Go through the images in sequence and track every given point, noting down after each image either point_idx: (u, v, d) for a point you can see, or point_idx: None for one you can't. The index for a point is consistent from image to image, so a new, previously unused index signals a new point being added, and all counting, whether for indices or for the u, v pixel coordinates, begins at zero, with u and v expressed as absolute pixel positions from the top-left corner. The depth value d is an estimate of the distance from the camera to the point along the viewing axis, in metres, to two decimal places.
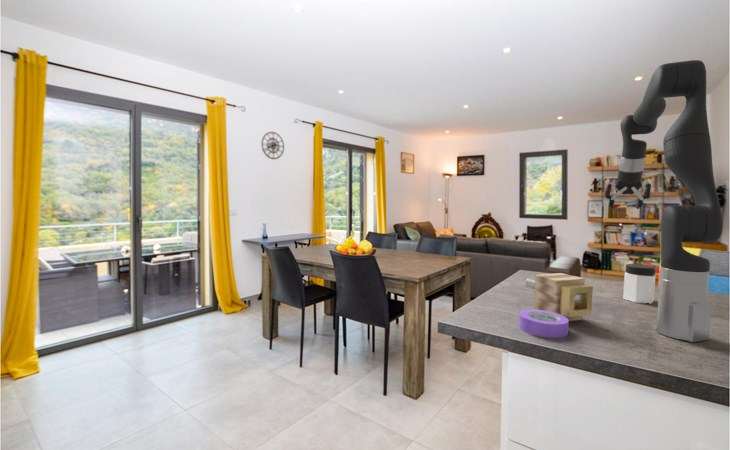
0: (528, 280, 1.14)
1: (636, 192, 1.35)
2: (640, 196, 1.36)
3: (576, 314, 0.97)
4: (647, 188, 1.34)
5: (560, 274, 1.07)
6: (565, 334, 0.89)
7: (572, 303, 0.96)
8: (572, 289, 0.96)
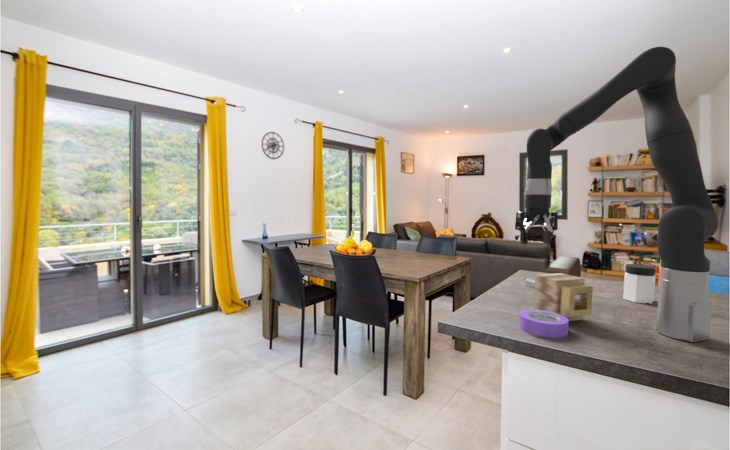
0: (528, 280, 1.14)
1: (547, 222, 1.12)
2: (550, 227, 1.14)
3: (576, 314, 0.97)
4: (555, 217, 1.14)
5: (560, 274, 1.07)
6: (565, 334, 0.89)
7: (572, 303, 0.96)
8: (572, 289, 0.96)
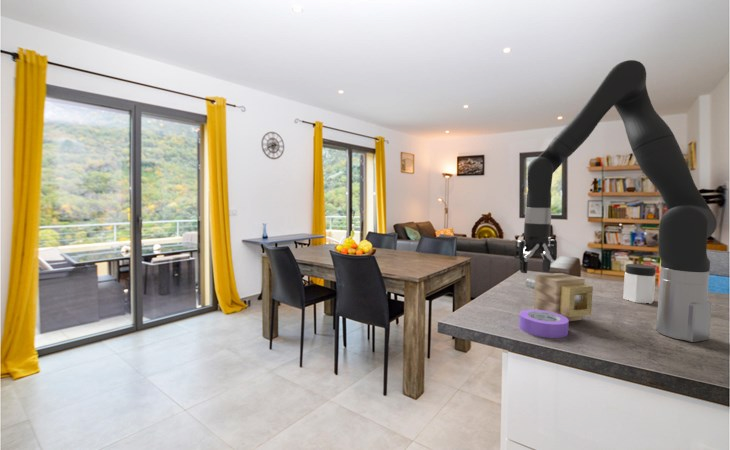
0: (528, 280, 1.14)
1: (546, 250, 1.11)
2: (549, 255, 1.13)
3: (576, 314, 0.97)
4: (554, 245, 1.13)
5: (560, 274, 1.07)
6: (565, 334, 0.89)
7: (572, 303, 0.96)
8: (572, 289, 0.96)
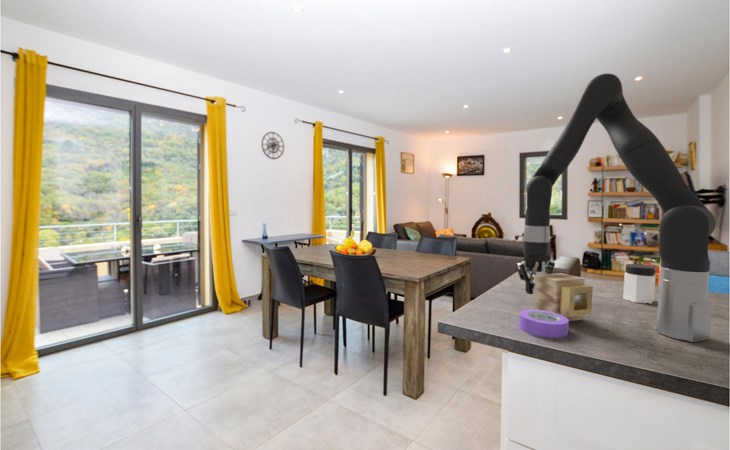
0: None
1: (543, 270, 1.11)
2: None
3: (576, 314, 0.97)
4: (551, 267, 1.13)
5: (560, 274, 1.07)
6: (565, 334, 0.89)
7: (572, 303, 0.96)
8: (572, 289, 0.96)
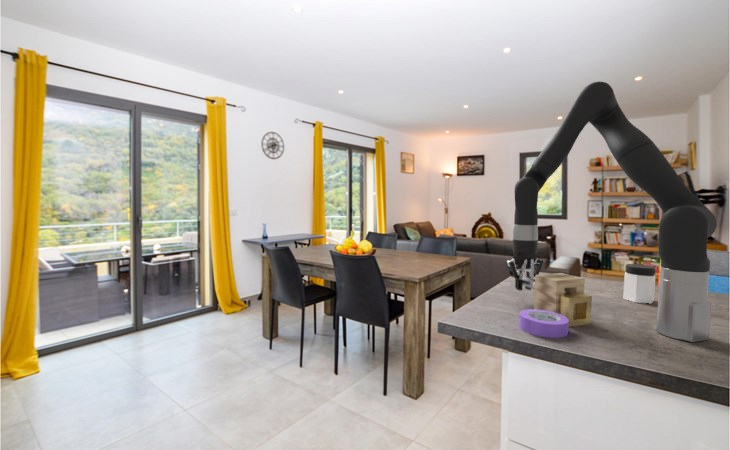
0: None
1: (532, 267, 1.16)
2: (532, 273, 1.17)
3: (575, 324, 0.97)
4: (539, 264, 1.17)
5: (560, 274, 1.07)
6: (565, 334, 0.89)
7: (571, 312, 0.96)
8: (572, 299, 0.96)
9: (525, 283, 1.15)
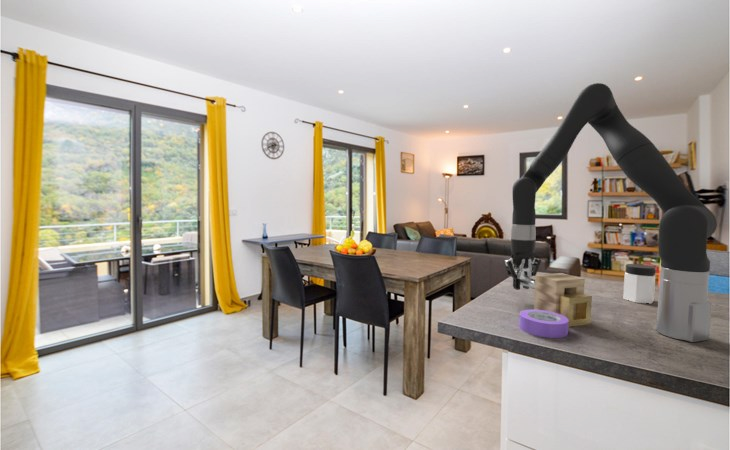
0: None
1: (529, 266, 1.17)
2: (530, 273, 1.18)
3: (575, 324, 0.97)
4: (537, 263, 1.18)
5: (560, 274, 1.07)
6: (565, 334, 0.89)
7: (571, 312, 0.96)
8: (571, 299, 0.96)
9: (523, 282, 1.16)
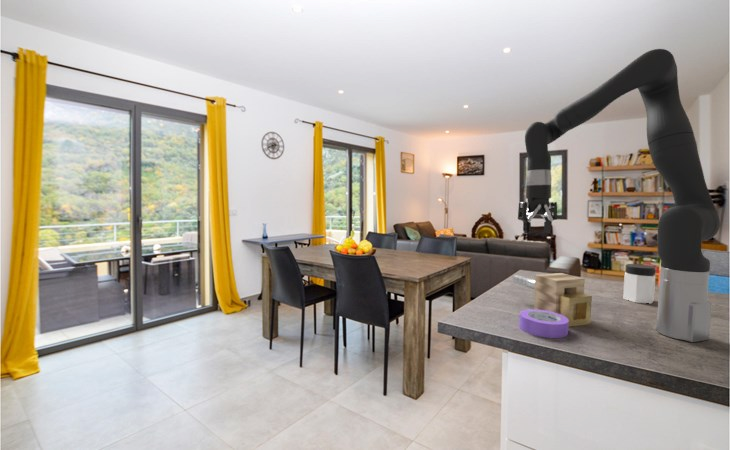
0: (515, 276, 1.19)
1: (548, 211, 1.17)
2: (550, 217, 1.18)
3: (575, 324, 0.97)
4: (554, 207, 1.18)
5: (560, 274, 1.07)
6: (565, 334, 0.89)
7: (571, 312, 0.96)
8: (571, 299, 0.96)
9: (523, 282, 1.16)
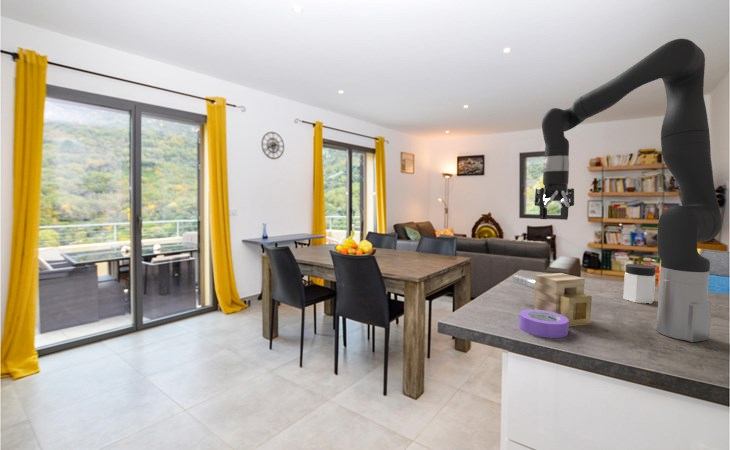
0: (515, 276, 1.19)
1: (565, 197, 1.17)
2: (567, 203, 1.18)
3: (575, 324, 0.97)
4: (571, 193, 1.19)
5: (560, 274, 1.07)
6: (565, 334, 0.89)
7: (571, 312, 0.96)
8: (571, 299, 0.96)
9: (523, 282, 1.16)
